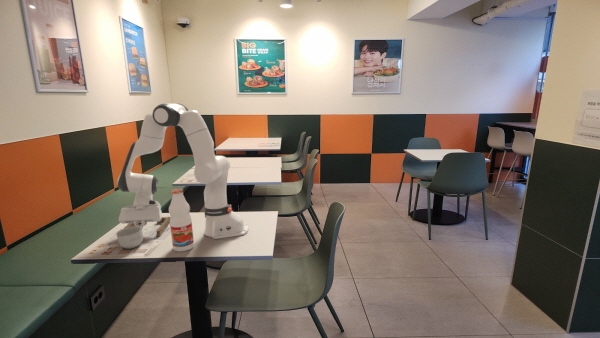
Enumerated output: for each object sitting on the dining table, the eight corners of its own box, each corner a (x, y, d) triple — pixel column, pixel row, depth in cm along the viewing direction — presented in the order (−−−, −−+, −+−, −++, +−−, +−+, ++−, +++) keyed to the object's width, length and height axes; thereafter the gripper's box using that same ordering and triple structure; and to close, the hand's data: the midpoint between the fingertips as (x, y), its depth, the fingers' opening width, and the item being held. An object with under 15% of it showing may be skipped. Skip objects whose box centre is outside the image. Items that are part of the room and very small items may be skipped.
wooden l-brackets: (170, 221, 188) (170, 216, 187) (160, 236, 168) (159, 230, 168) (134, 224, 186) (133, 219, 185) (119, 239, 166) (118, 233, 166)
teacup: (133, 252, 152) (131, 235, 150) (113, 250, 154) (110, 234, 152) (152, 238, 165) (150, 223, 163) (133, 237, 167) (131, 222, 166)
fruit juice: (192, 241, 161) (186, 186, 155) (196, 249, 153) (189, 191, 147) (171, 245, 157) (164, 189, 151) (174, 253, 149) (167, 194, 143)
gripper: (119, 203, 170) (113, 229, 162) (160, 201, 172) (157, 226, 164) (124, 208, 175) (119, 233, 168) (164, 206, 177) (160, 231, 170)
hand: (138, 230), depth 166 cm, fingers closed, pressing on teacup
